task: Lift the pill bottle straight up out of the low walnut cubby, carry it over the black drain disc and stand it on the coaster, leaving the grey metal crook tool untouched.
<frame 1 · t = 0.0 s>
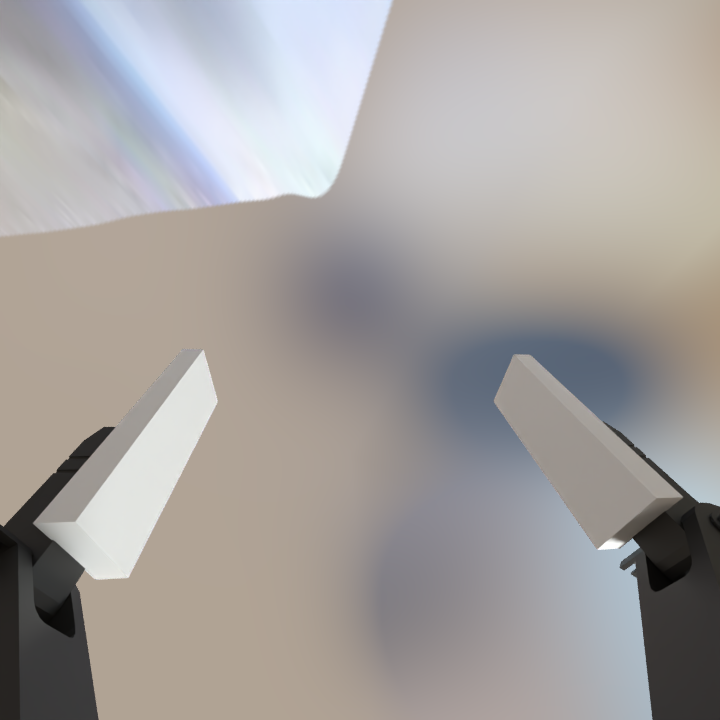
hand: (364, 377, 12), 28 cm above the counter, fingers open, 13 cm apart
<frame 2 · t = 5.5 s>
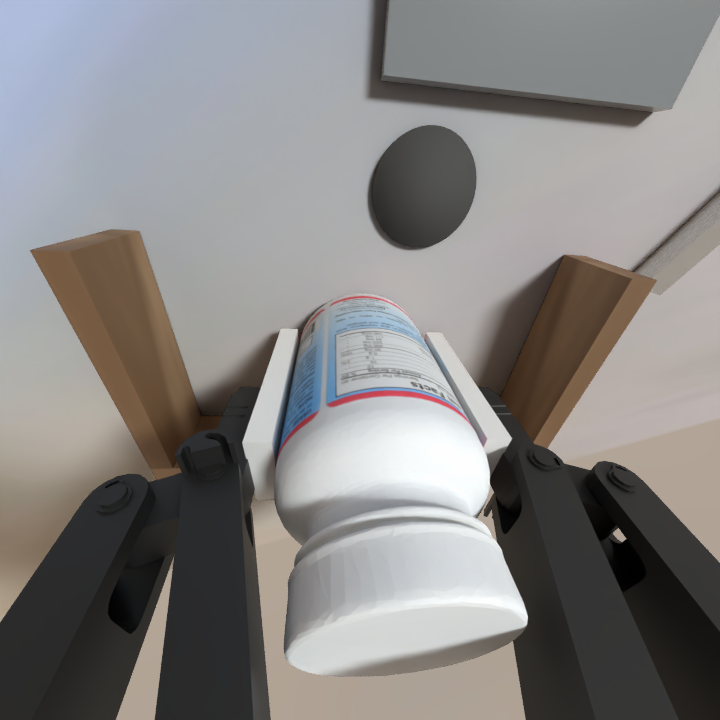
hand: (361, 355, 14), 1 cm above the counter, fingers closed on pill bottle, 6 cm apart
cubby: (360, 345, 15), on the counter
drain disc: (423, 192, 11), on the counter
pill bottle: (360, 343, 15), on the counter, touching gripper
when the fingers open (2 cm above the counter, at t = 11.3 s): pill bottle stays where it is, resting on coaster.
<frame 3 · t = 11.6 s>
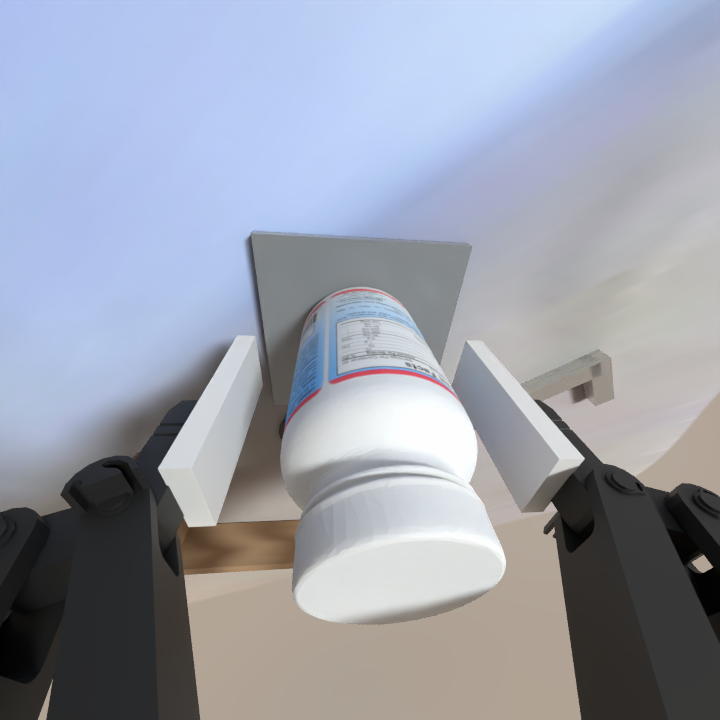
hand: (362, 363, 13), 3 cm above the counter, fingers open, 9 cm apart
cubby: (287, 489, 24), on the counter
coaster: (357, 332, 16), on the counter
crook tool: (498, 397, 20), on the counter
pill bottle: (359, 335, 15), resting on coaster
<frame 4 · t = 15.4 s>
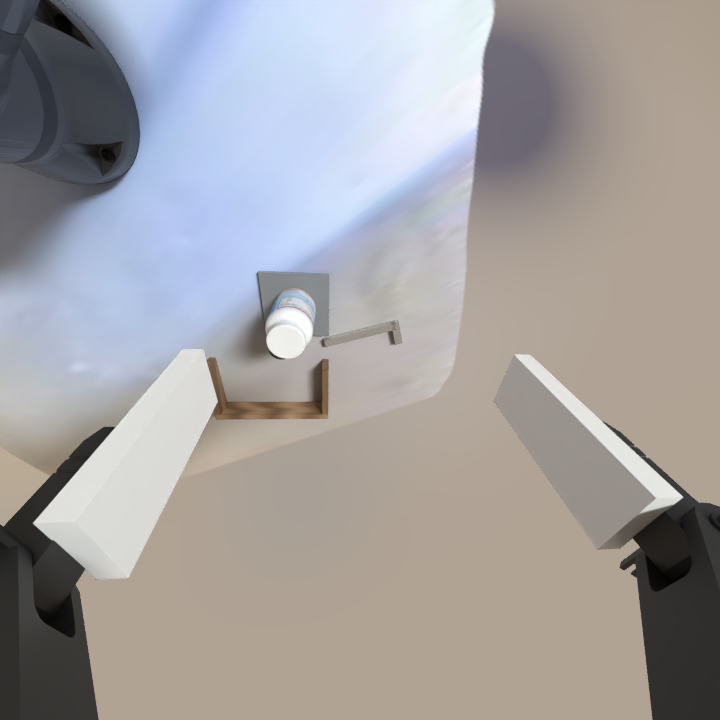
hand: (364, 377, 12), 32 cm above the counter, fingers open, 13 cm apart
cubby: (273, 381, 51), on the counter
coaster: (296, 304, 43), on the counter
crook tool: (359, 331, 47), on the counter
pill bottle: (296, 305, 43), resting on coaster
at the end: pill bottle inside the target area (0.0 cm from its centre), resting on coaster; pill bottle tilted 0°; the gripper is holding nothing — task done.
